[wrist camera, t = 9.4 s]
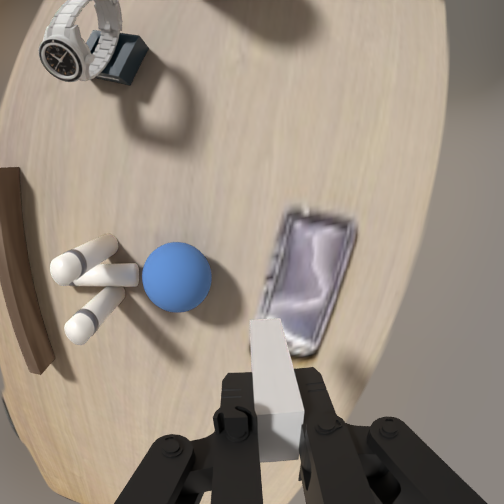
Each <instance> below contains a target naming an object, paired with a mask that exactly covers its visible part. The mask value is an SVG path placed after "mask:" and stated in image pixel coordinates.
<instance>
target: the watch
mask: <svg viewBox="0 0 504 504" xmlns="http://www.w3.org/2000/svg"><path fill="white" fill-rule="evenodd" d="M89 1H92V0H67V1H66V2H65V3H64V4H63V5H62V6H61V7H60V8H59V10H58V11H57V12H56V14H55V15H54V17H53V19H52V21H51V22H50V25H49V26H47V28H46V31H45V34H44V39H43V42H42V43H41V44H40V47H39V57H40V60H41V62H42V64H43V66H44V67H45V69H46V70H47V71H48V72H49V73H50V74H52V75H53V76H54V77H56V78H58V79H60V80H62V81H65V82H75V81H78V80H81V81H88V80H91V79H93V78H97V79H102V80H107V81H112V82H117V83H121V84H126V85H131V83H132V81H133V79H134V77H135V75H136V73H137V71H138V69H139V67H140V65H141V63H142V61H143V59H144V57H145V55H146V53H147V51H148V49H149V48H148V46H147V45H146V44H145V42H144V41H143V40H142V38H141V37H140V36H138V35H131V34H124V33H120V31H122V15H121V9H120V5H119V1H118V0H94V2H95V5H94V6H95V9H96V12H97V17H98V26H99V29H100V30H101V31H97V30H93V31H92V33H91V35H90V37H89V39H88V40H87V42H86V43H85V42H84V40H83V39H82V38H81V35H80V30H79V27H78V25H74V23H75V21H76V17H78V16H79V14H80V12H81V11H82V8H84V7H85V6H86V5H87V4H88V3H89Z"/></svg>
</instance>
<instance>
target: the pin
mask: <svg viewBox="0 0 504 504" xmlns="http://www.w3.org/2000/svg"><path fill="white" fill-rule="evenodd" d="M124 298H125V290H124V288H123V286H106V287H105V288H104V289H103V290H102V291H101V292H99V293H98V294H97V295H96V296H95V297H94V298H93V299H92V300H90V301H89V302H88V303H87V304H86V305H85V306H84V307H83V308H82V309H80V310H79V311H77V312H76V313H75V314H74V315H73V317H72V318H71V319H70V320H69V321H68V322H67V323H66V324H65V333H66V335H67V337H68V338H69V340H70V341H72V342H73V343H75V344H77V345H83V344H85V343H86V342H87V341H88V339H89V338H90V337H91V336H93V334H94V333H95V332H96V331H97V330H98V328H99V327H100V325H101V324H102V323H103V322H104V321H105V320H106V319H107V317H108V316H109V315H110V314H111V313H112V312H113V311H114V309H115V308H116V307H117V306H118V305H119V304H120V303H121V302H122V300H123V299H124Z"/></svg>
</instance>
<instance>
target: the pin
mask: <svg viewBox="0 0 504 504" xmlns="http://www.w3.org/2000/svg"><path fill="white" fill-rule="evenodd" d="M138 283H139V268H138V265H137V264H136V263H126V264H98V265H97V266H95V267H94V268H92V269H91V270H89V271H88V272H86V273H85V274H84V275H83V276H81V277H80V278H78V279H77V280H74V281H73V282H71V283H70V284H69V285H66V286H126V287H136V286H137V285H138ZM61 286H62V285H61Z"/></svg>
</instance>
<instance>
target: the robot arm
mask: <svg viewBox="0 0 504 504" xmlns="http://www.w3.org/2000/svg"><path fill="white" fill-rule="evenodd" d="M250 343H251V368H252V372H245V373H228V374H227V375H226V376H225V378H224V379H223V381H222V392H221V405H220V408H219V409H218V410H217V411H216V412H215V414H214V416H213V421H214V427H215V432H214V433H213V434H211V435H210V436H208V437H205V438H202V439H198V440H193V441H189V440H188V439H187V438H186V437H183V436H181V435H175V434H170V435H164V436H162V437H160V438H158V439H157V440H156V441H155V442H154V443H153V444H152V446H151V447H150V449H149V451H148V452H147V454H146V455H145V457H144V458H143V460H142V461H141V463H140V465H139V466H138V468H137V469H136V471H135V472H134V474H133V475H132V477H131V478H130V480H129V482H128V483H127V485H126V486H125V488H124V489H123V491H122V492H121V494H120V495H119V497H118V498H117V500H116V501H115V503H114V504H199V503H200V501H201V499H202V496H203V494H204V492H206V491H211V490H212V493H211V504H263V496H262V483H261V470H260V462H276V461H287V460H297V459H298V458H299V454H300V459H301V466H300V472H299V480H298V481H301V480H302V484H303V489H304V495H305V500H306V504H487V503H486V502H485V501H484V500H483V499H482V498H481V497H480V496H479V495H478V494H477V493H476V492H475V491H474V490H473V489H472V488H471V487H470V486H469V485H467V483H465V482H464V481H463V480H462V479H461V478H460V477H459V476H458V475H457V474H456V473H455V472H454V471H453V470H452V469H451V468H450V467H449V466H448V465H447V464H446V463H445V462H444V461H443V460H442V459H441V458H440V457H439V456H438V455H437V454H436V453H435V452H434V451H433V450H432V449H430V447H428V446H427V445H426V444H425V443H424V442H423V441H422V440H421V439H420V438H419V437H418V436H417V435H416V434H415V433H414V432H413V431H412V430H411V429H410V428H409V427H408V426H407V425H406V424H405V423H404V422H403V421H401V420H400V419H397V418H394V417H382V418H379V419H377V420H375V421H374V422H373V423H372V425H371V426H370V427H369V426H354V425H350V424H347V423H345V422H344V420H343V419H342V418H340V417H339V416H337V415H336V413H335V410H334V407H333V405H332V402H331V399H330V397H329V394H328V391H327V390H326V386H325V384H324V381H323V378H322V376H321V374H320V373H319V372H318V371H317V370H316V369H315V368H314V367H310V368H299V369H293V365H292V361H291V357H290V353H289V350H288V346H287V342H286V338H285V334H284V331H283V327H282V323H281V319H280V318H277V319H256V320H250Z"/></svg>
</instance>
